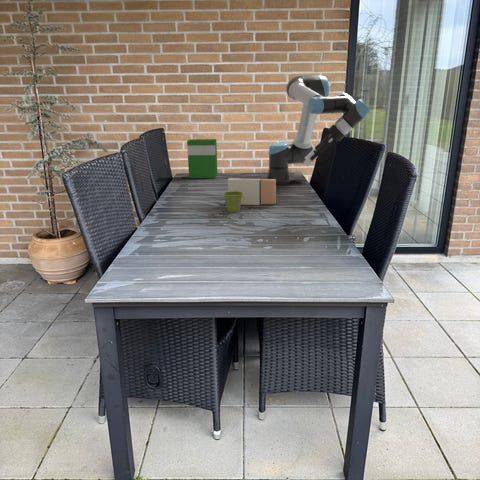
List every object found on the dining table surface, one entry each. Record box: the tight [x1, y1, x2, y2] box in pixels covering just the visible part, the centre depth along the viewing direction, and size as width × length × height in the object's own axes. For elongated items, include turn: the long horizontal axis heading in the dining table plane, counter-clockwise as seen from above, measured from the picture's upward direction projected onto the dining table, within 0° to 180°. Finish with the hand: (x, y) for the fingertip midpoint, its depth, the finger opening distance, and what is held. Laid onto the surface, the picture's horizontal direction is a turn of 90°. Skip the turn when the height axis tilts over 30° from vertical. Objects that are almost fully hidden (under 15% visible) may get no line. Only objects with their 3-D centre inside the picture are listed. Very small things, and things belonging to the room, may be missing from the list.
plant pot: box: [222, 191, 243, 213], centre depth 212 cm, size 9×9×9 cm
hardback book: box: [186, 138, 219, 179], centre depth 288 cm, size 18×7×24 cm, turn 86°
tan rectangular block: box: [260, 178, 277, 205], centre depth 222 cm, size 3×7×12 cm, turn 80°
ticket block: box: [227, 177, 262, 206], centre depth 224 cm, size 3×16×12 cm, turn 80°
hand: (305, 162), depth 213 cm, fingers open, 13 cm apart
